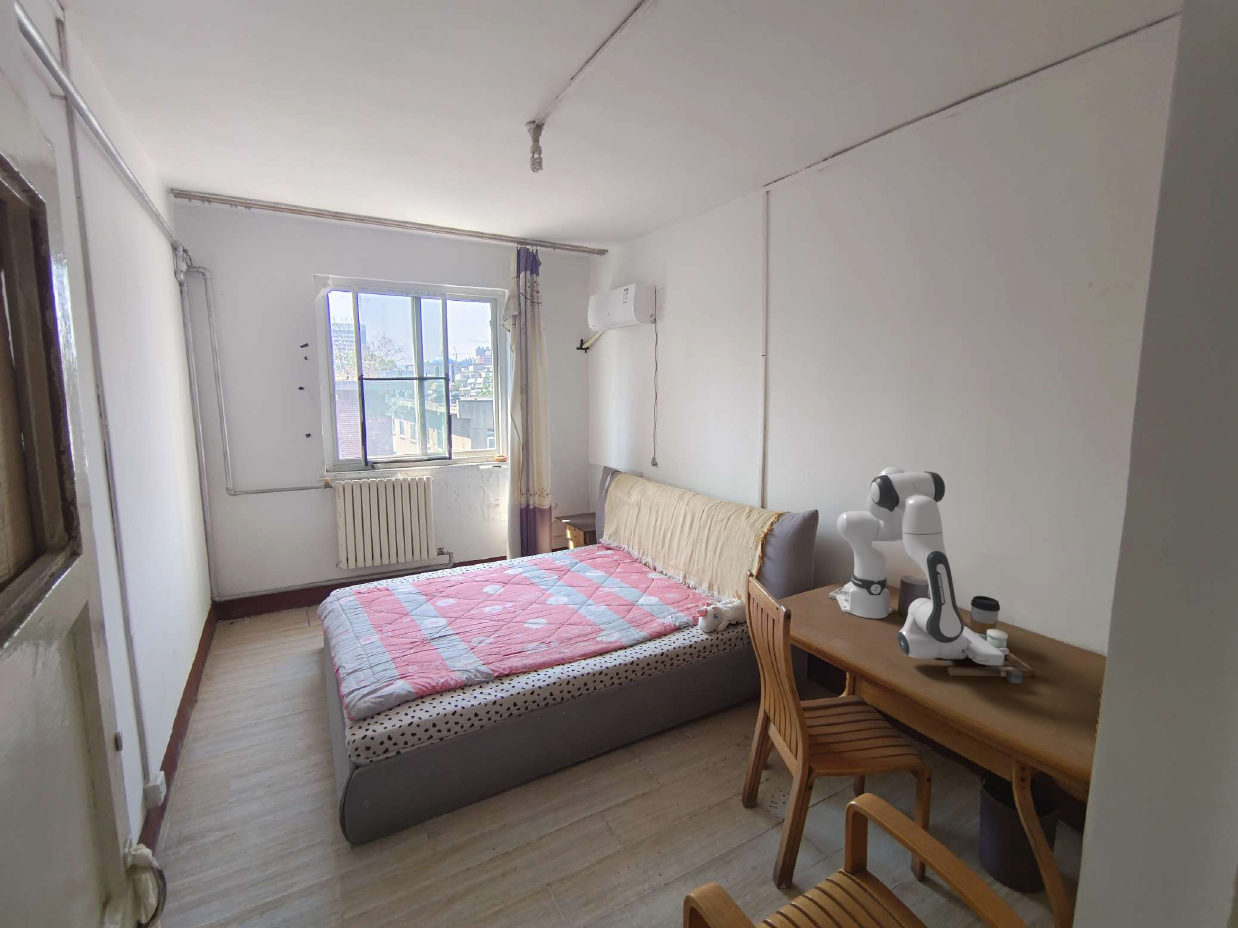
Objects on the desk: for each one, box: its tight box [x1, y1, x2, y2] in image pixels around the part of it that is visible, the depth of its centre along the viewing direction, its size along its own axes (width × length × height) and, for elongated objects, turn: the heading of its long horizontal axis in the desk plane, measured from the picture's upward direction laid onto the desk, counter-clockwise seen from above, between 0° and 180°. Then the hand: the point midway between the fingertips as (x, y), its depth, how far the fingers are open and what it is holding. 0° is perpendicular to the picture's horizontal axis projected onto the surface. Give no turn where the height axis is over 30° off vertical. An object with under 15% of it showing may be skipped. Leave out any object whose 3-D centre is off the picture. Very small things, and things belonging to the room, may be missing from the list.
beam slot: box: [946, 651, 1036, 684], centre depth 174 cm, size 16×25×3 cm, turn 89°
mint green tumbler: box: [983, 628, 1009, 667], centre depth 176 cm, size 5×5×11 cm
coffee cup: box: [969, 595, 1001, 635], centre depth 191 cm, size 8×8×15 cm
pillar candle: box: [896, 574, 929, 618], centre depth 214 cm, size 10×10×15 cm
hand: (999, 644), depth 175 cm, fingers open, 6 cm apart
